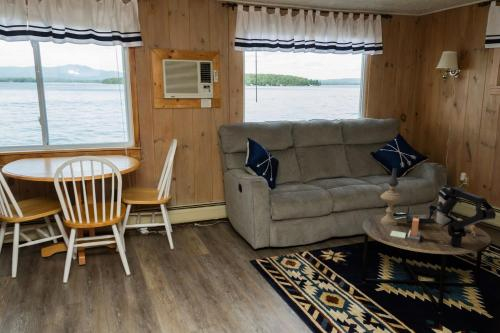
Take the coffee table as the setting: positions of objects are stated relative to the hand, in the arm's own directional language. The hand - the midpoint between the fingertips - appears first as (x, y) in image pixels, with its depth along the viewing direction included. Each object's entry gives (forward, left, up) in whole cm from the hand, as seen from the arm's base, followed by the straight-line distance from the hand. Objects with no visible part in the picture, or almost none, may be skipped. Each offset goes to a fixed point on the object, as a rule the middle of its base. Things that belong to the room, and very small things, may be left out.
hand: (434, 223), depth 244 cm
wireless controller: (+34, -4, -11) cm, 36 cm away
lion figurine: (+12, -28, -10) cm, 32 cm away
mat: (+4, +21, -10) cm, 23 cm away
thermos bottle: (+31, -21, -10) cm, 39 cm away
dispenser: (0, +12, -10) cm, 16 cm away
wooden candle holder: (+27, +19, -10) cm, 35 cm away
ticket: (0, +12, -10) cm, 16 cm away
